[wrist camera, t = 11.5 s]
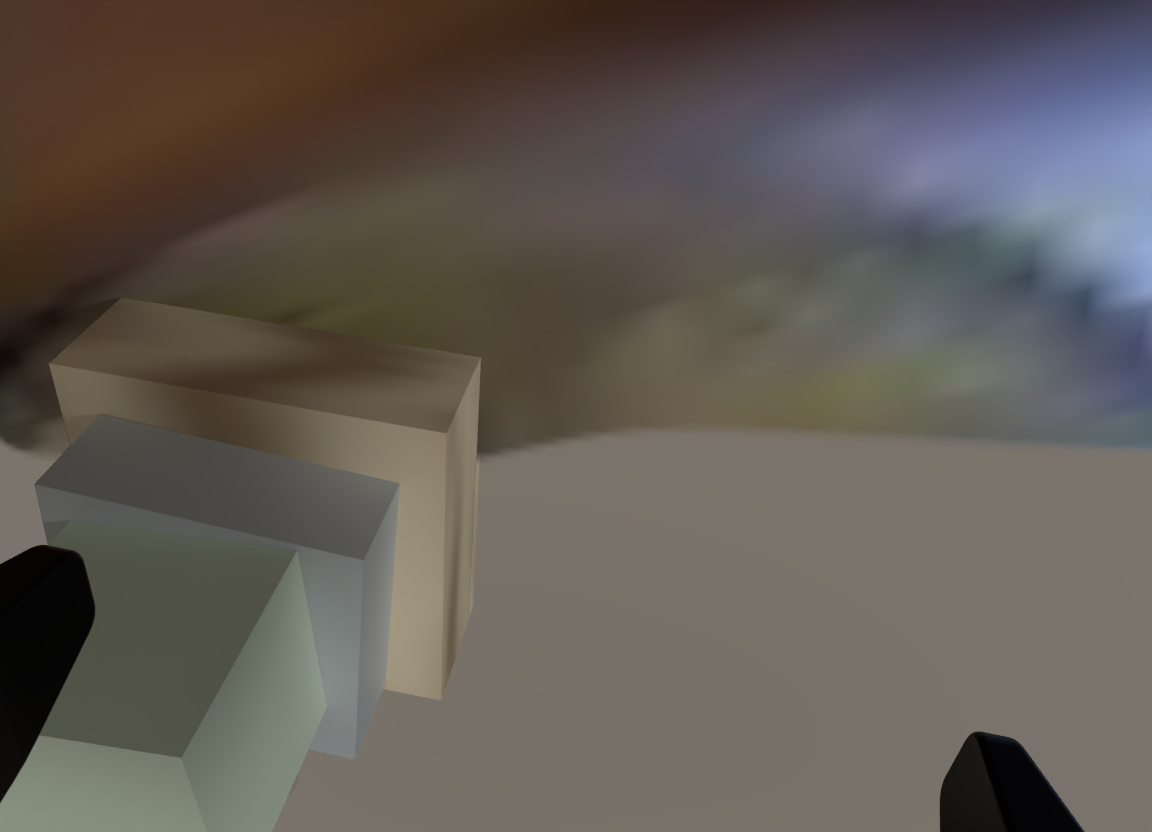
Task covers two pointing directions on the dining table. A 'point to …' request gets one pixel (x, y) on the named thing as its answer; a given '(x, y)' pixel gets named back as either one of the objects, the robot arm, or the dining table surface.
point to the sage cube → (176, 691)
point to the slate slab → (254, 537)
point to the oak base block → (313, 435)
